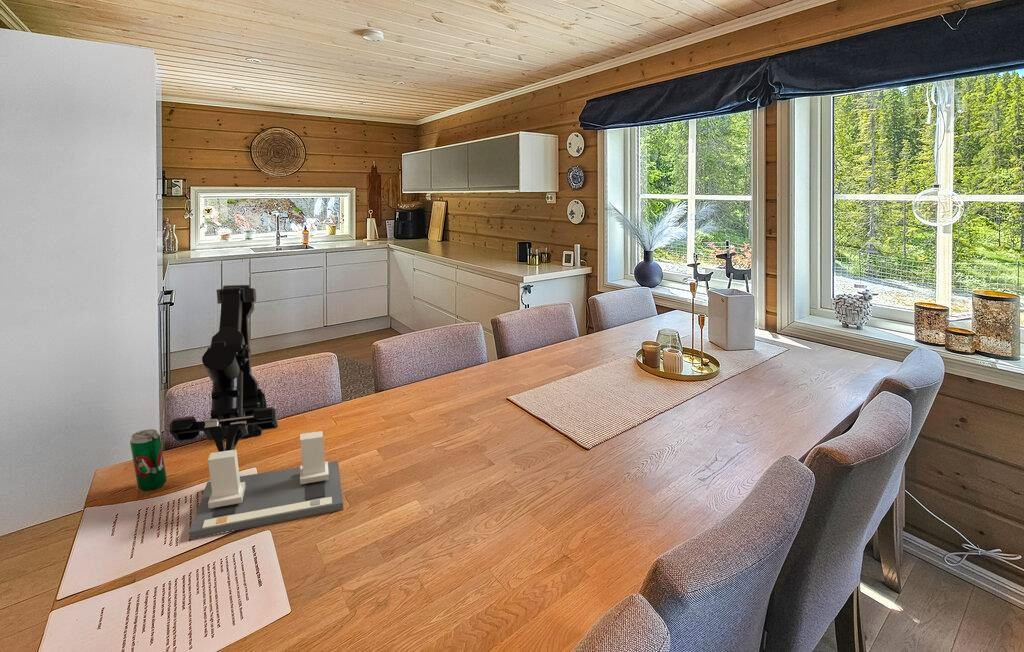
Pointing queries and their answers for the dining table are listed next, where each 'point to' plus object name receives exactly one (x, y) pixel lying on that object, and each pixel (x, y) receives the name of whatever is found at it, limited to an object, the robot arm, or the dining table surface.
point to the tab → (313, 458)
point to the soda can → (148, 460)
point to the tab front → (225, 479)
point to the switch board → (270, 501)
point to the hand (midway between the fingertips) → (225, 463)
